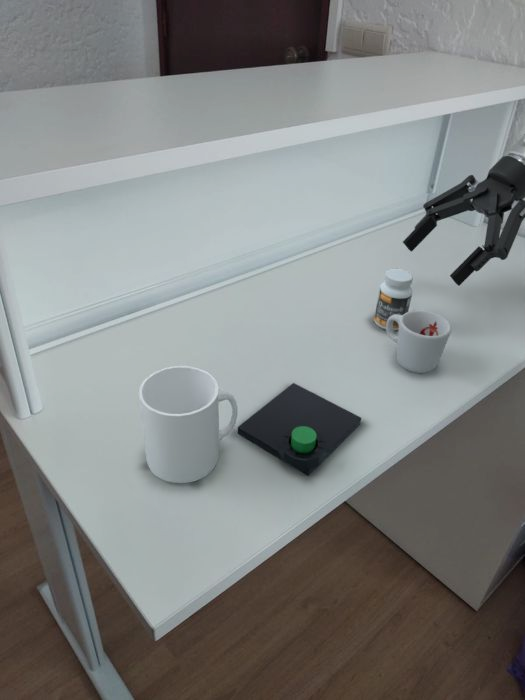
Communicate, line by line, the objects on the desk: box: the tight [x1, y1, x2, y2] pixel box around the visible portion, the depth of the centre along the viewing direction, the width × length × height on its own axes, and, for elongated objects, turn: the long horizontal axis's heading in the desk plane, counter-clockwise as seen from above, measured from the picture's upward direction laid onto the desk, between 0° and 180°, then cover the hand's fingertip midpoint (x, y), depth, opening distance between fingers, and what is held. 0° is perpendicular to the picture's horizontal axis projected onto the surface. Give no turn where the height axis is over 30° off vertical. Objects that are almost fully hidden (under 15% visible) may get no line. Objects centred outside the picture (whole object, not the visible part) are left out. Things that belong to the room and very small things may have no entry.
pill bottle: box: [373, 268, 414, 331], centre depth 102 cm, size 6×6×10 cm
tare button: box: [291, 426, 317, 453], centre depth 75 cm, size 3×3×2 cm
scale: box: [237, 382, 362, 477], centre depth 80 cm, size 12×14×3 cm
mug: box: [138, 365, 238, 484], centre depth 73 cm, size 10×12×12 cm
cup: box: [385, 309, 452, 374], centre depth 94 cm, size 11×8×8 cm
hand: (429, 263), depth 101 cm, fingers open, 13 cm apart
